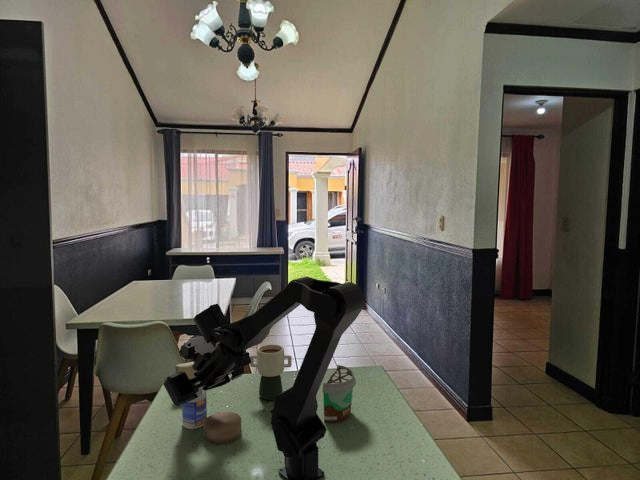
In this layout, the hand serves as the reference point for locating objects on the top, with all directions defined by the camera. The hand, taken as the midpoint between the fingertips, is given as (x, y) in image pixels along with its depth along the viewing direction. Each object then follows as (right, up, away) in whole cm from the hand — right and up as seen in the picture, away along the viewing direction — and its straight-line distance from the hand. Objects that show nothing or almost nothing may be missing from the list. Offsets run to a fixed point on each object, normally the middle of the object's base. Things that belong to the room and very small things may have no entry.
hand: (190, 394), depth 97 cm
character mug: (+17, -6, +13) cm, 22 cm away
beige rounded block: (-5, -5, +15) cm, 17 cm away
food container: (+35, -7, +4) cm, 36 cm away
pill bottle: (+1, -7, 0) cm, 7 cm away
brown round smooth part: (+9, -7, -4) cm, 12 cm away
